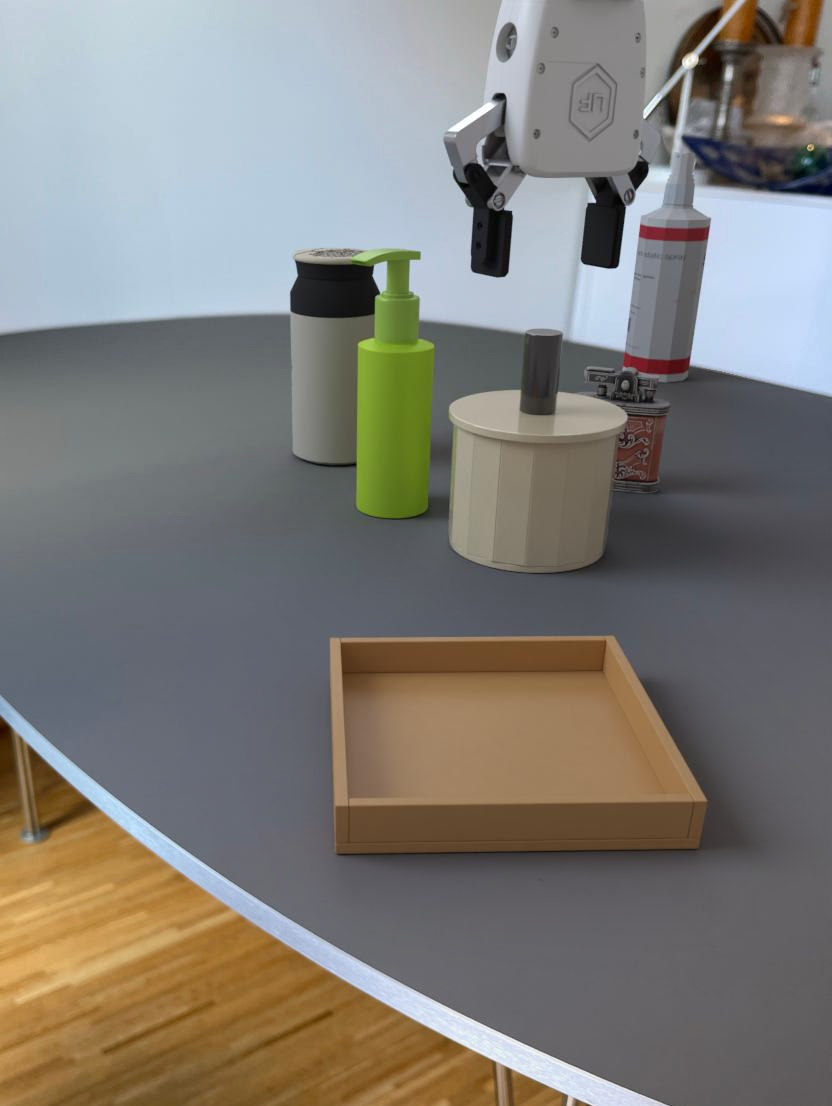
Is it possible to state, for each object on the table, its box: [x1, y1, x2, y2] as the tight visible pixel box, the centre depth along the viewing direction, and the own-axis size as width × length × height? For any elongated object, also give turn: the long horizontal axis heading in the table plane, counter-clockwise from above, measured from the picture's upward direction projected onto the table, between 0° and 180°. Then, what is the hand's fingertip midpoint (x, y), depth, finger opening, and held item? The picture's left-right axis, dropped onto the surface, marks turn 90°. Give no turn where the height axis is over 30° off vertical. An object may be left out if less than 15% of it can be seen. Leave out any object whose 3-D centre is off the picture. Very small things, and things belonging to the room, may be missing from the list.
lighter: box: [574, 365, 671, 494], centre depth 91 cm, size 8×3×10 cm, turn 65°
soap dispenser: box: [350, 248, 435, 519], centre depth 83 cm, size 6×7×20 cm
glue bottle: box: [622, 151, 712, 383], centre depth 126 cm, size 8×8×25 cm
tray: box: [329, 635, 709, 855], centre depth 54 cm, size 16×16×3 cm
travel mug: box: [289, 247, 381, 466], centre depth 97 cm, size 8×8×18 cm
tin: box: [447, 424, 620, 574], centre depth 78 cm, size 12×12×10 cm
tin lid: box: [448, 328, 628, 444], centre depth 75 cm, size 13×13×7 cm
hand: (545, 270), depth 72 cm, fingers open, 9 cm apart
